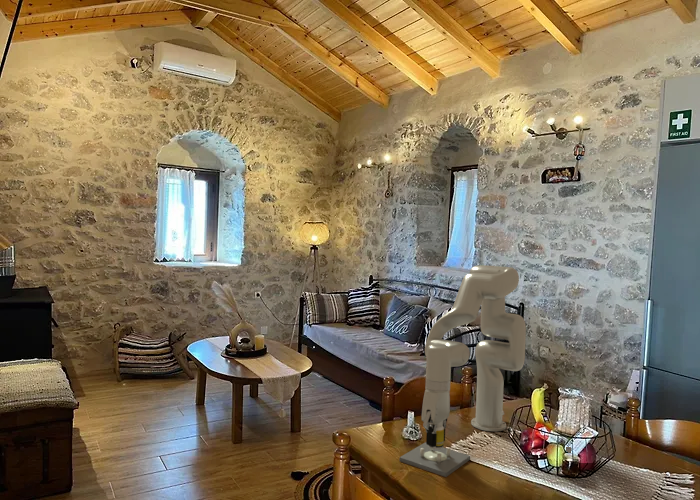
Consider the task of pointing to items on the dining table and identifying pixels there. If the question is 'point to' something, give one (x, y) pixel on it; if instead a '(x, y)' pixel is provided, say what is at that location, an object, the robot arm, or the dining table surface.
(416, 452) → the pin tray
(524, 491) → the dining table surface
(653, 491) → the dining table surface
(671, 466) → the dining table surface
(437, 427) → the supplement bottle
